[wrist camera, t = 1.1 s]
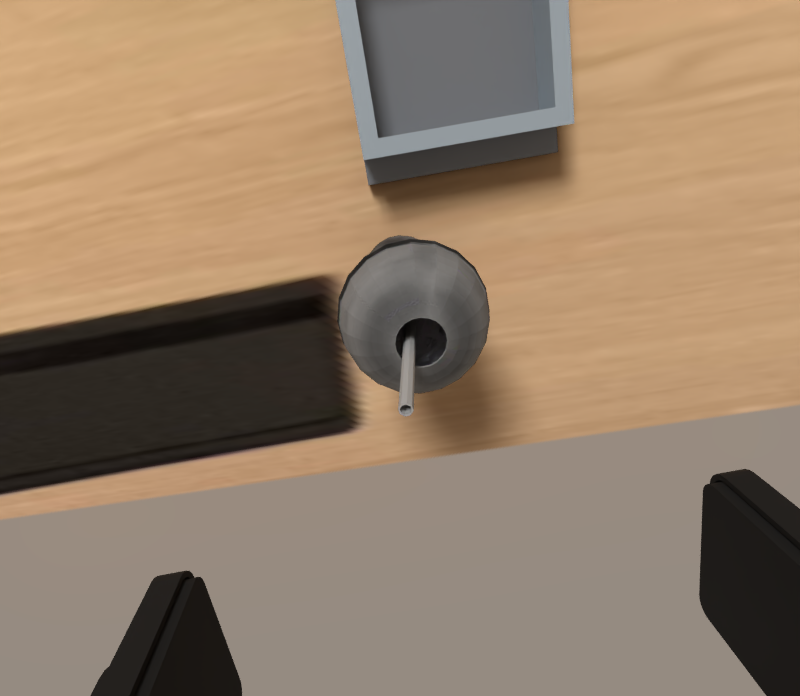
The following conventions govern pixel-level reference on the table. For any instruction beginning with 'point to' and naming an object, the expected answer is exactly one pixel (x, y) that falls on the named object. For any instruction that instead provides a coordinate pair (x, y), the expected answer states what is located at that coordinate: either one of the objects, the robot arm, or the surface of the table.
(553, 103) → the blue-grey tray
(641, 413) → the table surface
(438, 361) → the beverage cup
